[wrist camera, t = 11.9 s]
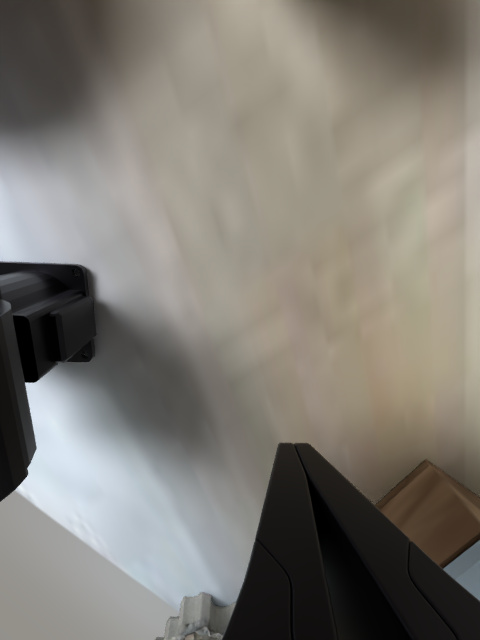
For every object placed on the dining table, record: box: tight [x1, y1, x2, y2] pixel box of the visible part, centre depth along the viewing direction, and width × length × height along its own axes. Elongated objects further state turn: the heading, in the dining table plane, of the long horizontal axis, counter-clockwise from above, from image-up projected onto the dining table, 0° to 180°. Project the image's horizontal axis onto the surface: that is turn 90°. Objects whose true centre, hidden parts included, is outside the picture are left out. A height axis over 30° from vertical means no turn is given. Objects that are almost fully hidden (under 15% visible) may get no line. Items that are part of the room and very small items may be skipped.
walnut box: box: [375, 460, 480, 569], centre depth 25 cm, size 10×14×6 cm
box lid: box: [443, 540, 480, 601], centre depth 21 cm, size 10×14×1 cm
